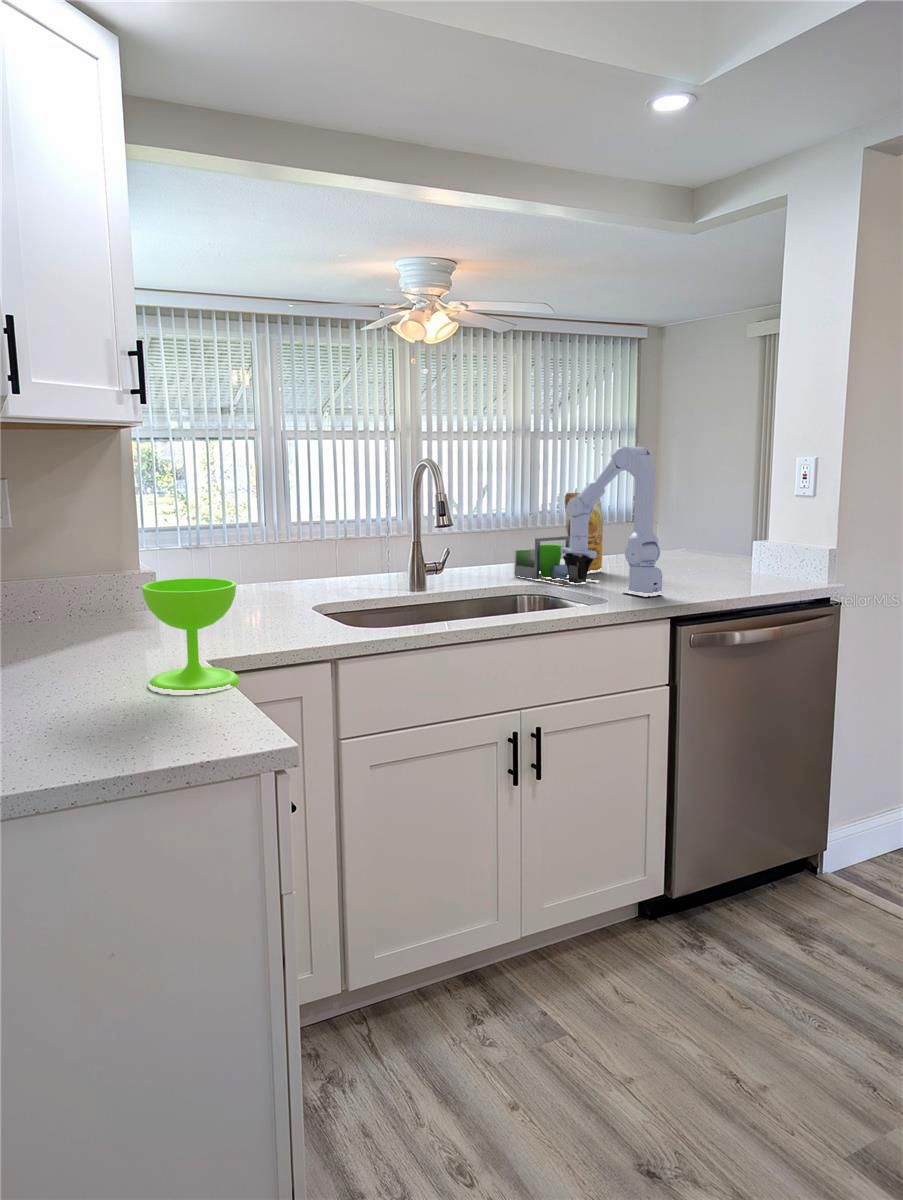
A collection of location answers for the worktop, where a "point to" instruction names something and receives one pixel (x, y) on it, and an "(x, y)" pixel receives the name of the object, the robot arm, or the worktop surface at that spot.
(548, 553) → the cup
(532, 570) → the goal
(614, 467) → the robot arm
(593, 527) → the pancake mix bag
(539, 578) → the lane rails
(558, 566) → the blue and gray block
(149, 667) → the worktop surface
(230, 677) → the wineglass
